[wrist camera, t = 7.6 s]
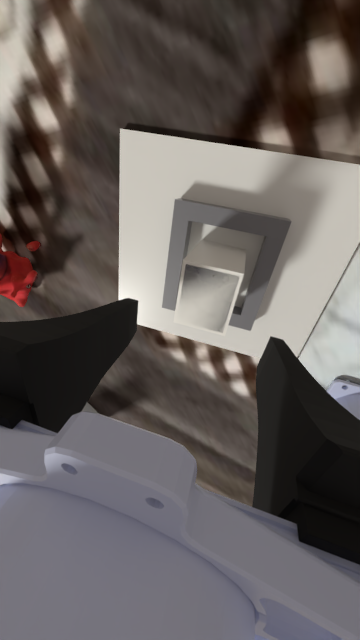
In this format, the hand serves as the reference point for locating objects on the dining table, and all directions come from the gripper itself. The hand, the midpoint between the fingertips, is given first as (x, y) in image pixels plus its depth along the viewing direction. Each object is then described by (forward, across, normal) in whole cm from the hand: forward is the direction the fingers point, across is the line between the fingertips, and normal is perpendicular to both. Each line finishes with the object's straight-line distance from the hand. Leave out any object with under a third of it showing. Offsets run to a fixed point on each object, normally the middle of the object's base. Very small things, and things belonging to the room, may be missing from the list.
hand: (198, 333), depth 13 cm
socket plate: (+9, 0, -1) cm, 9 cm away
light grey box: (+9, 0, -1) cm, 9 cm away
